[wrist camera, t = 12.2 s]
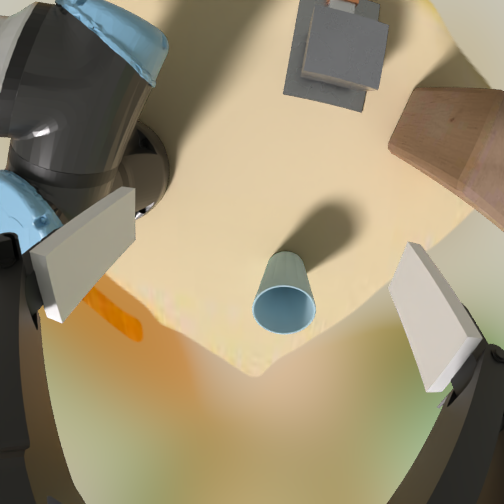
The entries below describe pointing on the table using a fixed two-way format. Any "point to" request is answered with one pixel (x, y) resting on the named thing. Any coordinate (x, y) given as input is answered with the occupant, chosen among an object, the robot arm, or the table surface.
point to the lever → (295, 85)
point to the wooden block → (457, 143)
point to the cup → (284, 296)
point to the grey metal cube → (344, 49)
